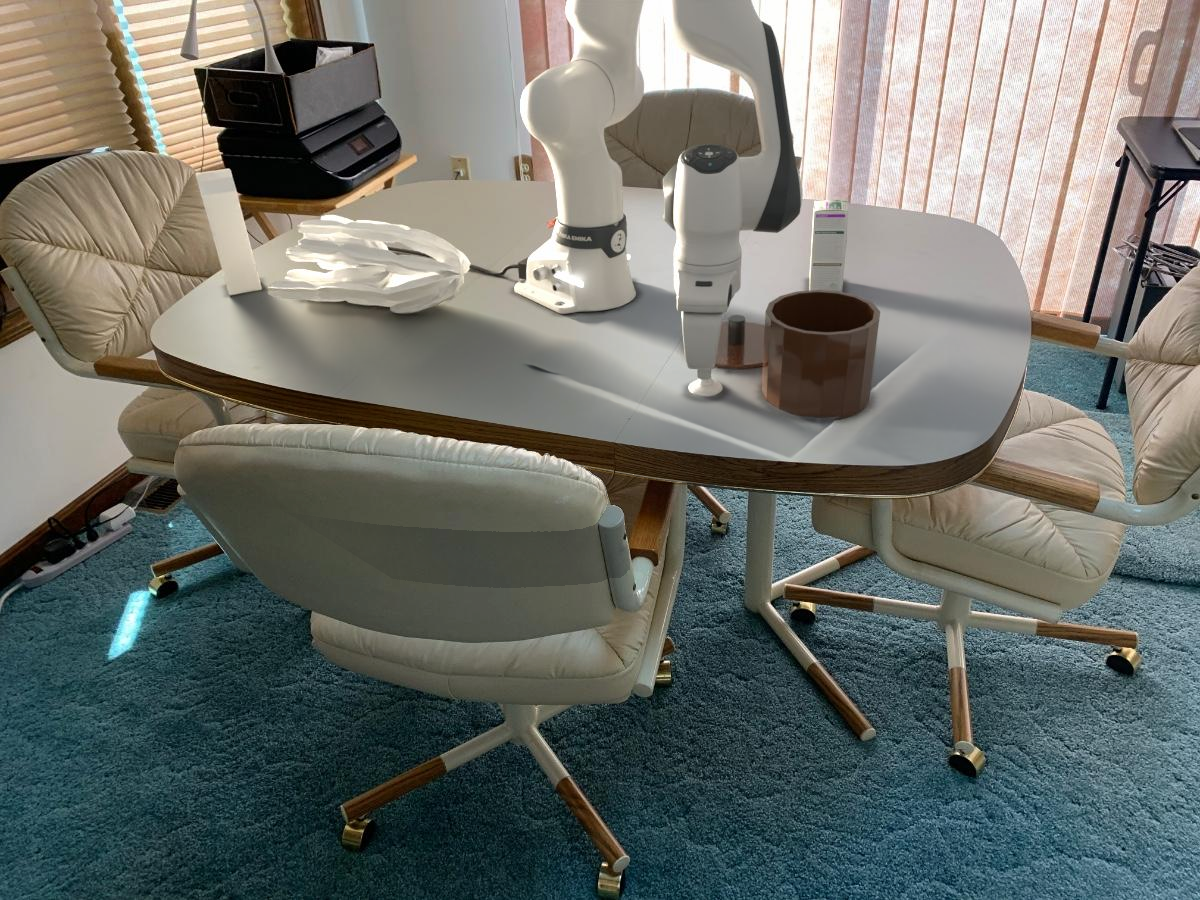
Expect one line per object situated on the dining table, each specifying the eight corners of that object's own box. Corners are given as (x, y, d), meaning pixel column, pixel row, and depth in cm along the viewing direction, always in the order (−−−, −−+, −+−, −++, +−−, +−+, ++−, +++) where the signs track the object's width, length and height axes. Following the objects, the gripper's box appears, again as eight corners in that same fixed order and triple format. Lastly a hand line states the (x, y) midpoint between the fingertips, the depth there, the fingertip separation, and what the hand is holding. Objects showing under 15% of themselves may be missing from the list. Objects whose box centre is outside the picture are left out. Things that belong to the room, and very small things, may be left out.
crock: (742, 400, 127) (745, 317, 120) (795, 362, 136) (801, 282, 129) (837, 432, 119) (846, 344, 112) (887, 388, 128) (898, 305, 121)
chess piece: (700, 403, 127) (701, 337, 122) (681, 389, 131) (681, 324, 125) (729, 394, 129) (731, 329, 123) (710, 380, 132) (711, 316, 127)
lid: (664, 355, 140) (663, 323, 137) (721, 320, 150) (722, 290, 147) (752, 382, 131) (753, 349, 129) (807, 343, 141) (809, 312, 138)
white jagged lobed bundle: (490, 235, 163) (322, 221, 173) (445, 207, 146) (261, 193, 156) (477, 329, 163) (310, 310, 173) (430, 313, 146) (247, 292, 156)
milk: (262, 290, 172) (232, 172, 160) (228, 296, 170) (196, 177, 158) (258, 279, 177) (229, 164, 165) (226, 285, 175) (194, 169, 163)
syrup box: (842, 293, 157) (850, 210, 150) (807, 292, 158) (813, 209, 151) (842, 280, 162) (849, 199, 154) (808, 279, 163) (814, 199, 156)
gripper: (690, 247, 130) (690, 336, 137) (675, 304, 113) (675, 402, 120) (735, 248, 128) (732, 337, 136) (726, 306, 112) (723, 404, 119)
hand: (705, 368), depth 128 cm, fingers open, 4 cm apart
